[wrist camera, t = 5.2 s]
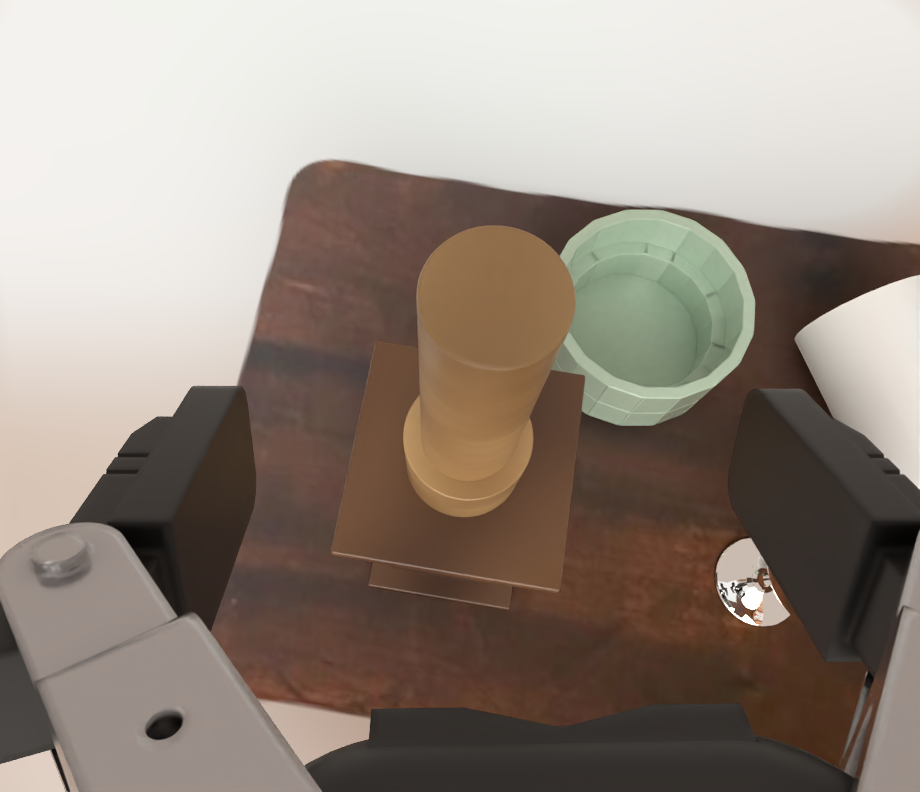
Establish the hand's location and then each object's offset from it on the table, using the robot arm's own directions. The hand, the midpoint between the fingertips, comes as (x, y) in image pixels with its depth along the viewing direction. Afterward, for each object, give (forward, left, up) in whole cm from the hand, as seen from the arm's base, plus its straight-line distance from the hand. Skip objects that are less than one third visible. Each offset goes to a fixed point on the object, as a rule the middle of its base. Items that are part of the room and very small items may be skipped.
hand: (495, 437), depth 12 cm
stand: (0, +2, -27) cm, 27 cm away
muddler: (0, +2, -11) cm, 11 cm away
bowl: (+8, +14, -27) cm, 32 cm away
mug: (+24, +12, -27) cm, 38 cm away
